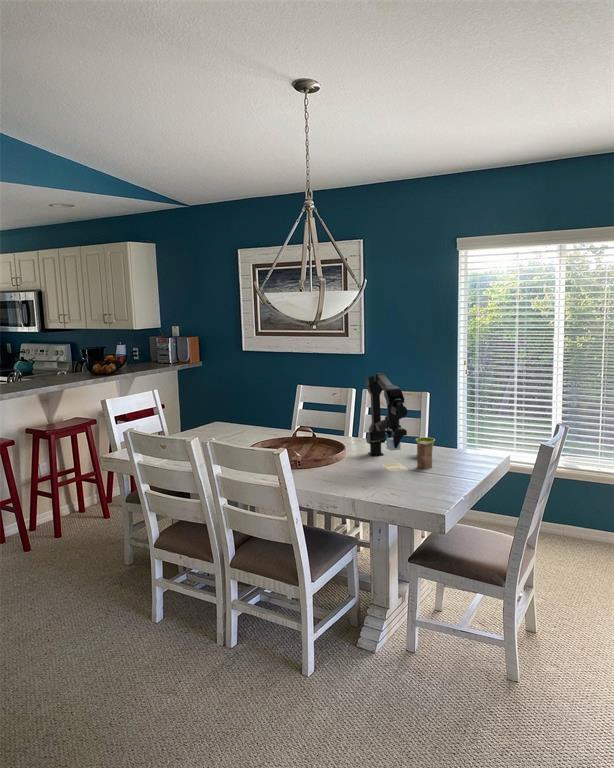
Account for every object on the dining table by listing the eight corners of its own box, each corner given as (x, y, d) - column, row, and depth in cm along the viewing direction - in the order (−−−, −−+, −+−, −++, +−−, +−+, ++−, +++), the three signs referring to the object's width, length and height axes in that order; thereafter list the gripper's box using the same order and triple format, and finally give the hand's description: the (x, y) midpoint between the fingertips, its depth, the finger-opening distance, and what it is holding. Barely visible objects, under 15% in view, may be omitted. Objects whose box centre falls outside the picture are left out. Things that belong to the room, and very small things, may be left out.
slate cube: (386, 448, 280) (386, 437, 279) (396, 447, 281) (396, 437, 280) (390, 450, 275) (390, 440, 275) (400, 449, 276) (400, 439, 276)
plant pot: (426, 459, 290) (426, 442, 289) (412, 456, 297) (411, 439, 296) (438, 456, 296) (438, 439, 295) (424, 452, 303) (424, 436, 302)
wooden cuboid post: (417, 467, 277) (417, 442, 275) (424, 465, 280) (424, 441, 278) (425, 469, 273) (424, 444, 271) (432, 467, 276) (431, 442, 274)
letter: (381, 465, 283) (381, 464, 283) (398, 463, 285) (398, 462, 285) (390, 471, 272) (390, 471, 272) (408, 469, 274) (408, 469, 274)
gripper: (370, 412, 283) (370, 443, 285) (384, 419, 265) (384, 453, 267) (392, 410, 286) (392, 441, 288) (407, 417, 268) (407, 450, 270)
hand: (393, 446), depth 278 cm, fingers closed on slate cube, 5 cm apart
